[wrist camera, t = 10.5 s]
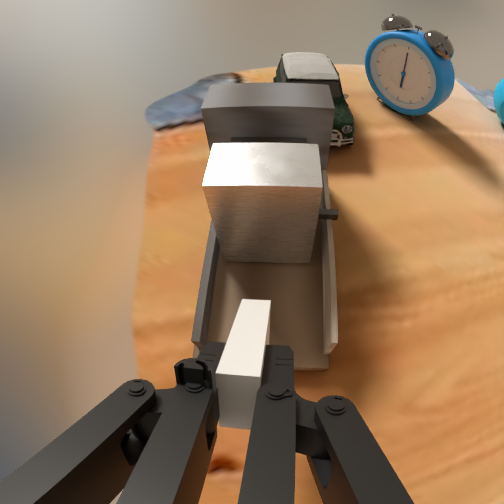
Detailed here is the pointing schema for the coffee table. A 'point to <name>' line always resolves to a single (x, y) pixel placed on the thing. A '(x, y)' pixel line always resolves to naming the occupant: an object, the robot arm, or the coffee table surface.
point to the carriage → (265, 200)
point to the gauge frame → (265, 273)
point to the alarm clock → (410, 67)
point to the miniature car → (319, 72)
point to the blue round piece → (499, 100)
